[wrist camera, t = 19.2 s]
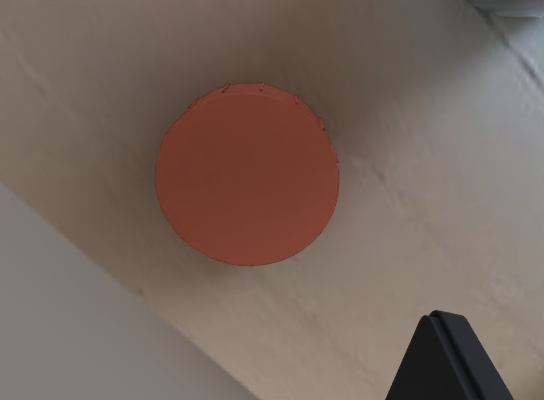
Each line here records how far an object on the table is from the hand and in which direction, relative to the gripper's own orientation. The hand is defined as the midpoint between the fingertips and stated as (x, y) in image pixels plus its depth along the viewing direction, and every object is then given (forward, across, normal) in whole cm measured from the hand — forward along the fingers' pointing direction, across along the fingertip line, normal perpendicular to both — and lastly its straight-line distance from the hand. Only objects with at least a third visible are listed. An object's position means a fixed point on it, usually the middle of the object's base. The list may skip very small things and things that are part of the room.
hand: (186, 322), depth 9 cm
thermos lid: (+10, -1, +1) cm, 10 cm away
